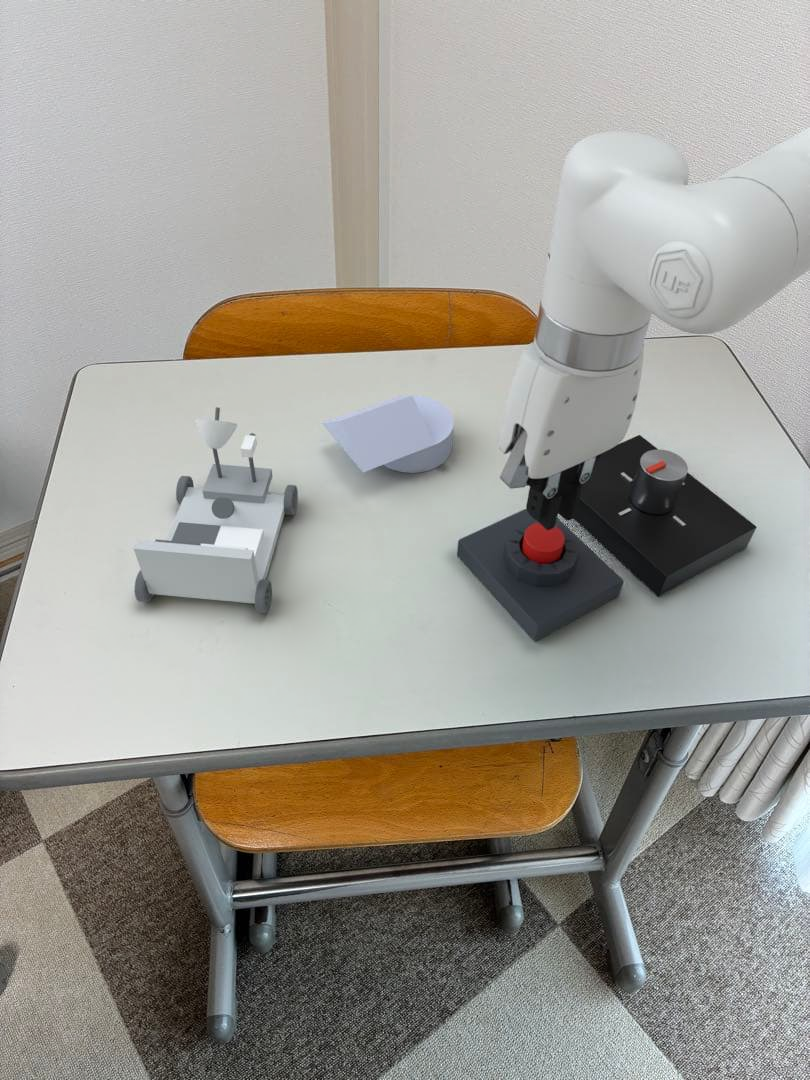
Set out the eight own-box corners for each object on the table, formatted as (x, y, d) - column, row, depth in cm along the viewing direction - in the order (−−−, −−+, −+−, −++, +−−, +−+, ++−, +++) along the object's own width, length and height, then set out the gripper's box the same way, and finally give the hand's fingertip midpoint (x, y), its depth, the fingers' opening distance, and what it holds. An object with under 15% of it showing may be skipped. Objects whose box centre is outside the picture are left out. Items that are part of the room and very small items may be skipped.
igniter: (619, 596, 74) (629, 567, 71) (534, 642, 70) (541, 614, 67) (537, 517, 80) (543, 488, 78) (456, 555, 77) (459, 526, 74)
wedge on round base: (363, 496, 82) (467, 455, 87) (362, 446, 77) (472, 405, 82) (323, 447, 87) (423, 410, 92) (319, 397, 82) (425, 361, 87)
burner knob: (652, 478, 80) (665, 441, 77) (684, 504, 78) (698, 467, 74) (620, 493, 79) (631, 456, 75) (651, 520, 76) (664, 483, 73)
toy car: (177, 398, 76) (296, 407, 76) (194, 474, 84) (303, 483, 83) (112, 533, 64) (253, 545, 64) (138, 608, 71) (266, 620, 71)
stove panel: (746, 547, 78) (757, 525, 76) (658, 597, 74) (667, 575, 71) (633, 455, 87) (640, 433, 85) (548, 494, 83) (552, 472, 80)
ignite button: (569, 554, 72) (573, 541, 71) (538, 570, 71) (541, 557, 70) (544, 530, 74) (547, 516, 73) (514, 544, 73) (516, 531, 72)
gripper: (635, 277, 61) (589, 459, 74) (468, 335, 55) (451, 521, 68) (708, 324, 57) (645, 508, 70) (536, 391, 51) (504, 578, 64)
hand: (549, 513), depth 69 cm, fingers closed
